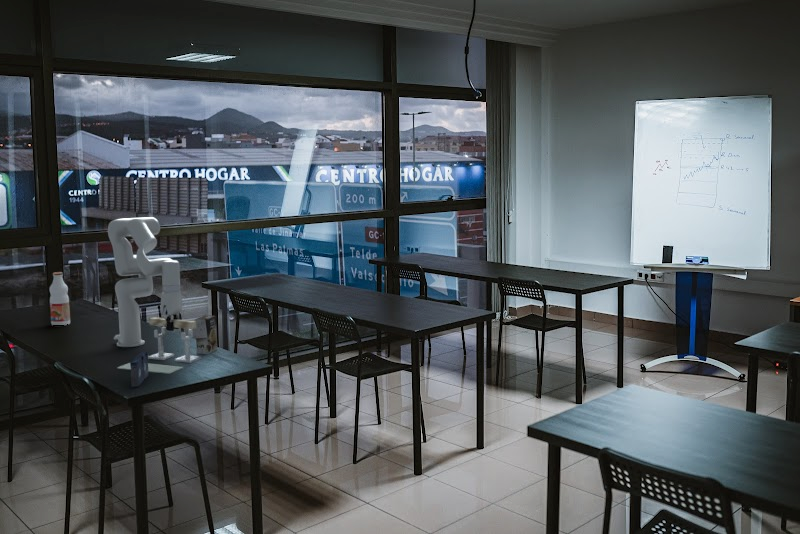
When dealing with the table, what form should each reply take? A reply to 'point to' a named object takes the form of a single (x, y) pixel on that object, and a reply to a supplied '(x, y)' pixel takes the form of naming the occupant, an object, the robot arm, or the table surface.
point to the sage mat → (155, 368)
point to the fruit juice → (59, 301)
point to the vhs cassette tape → (139, 369)
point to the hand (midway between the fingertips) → (172, 329)
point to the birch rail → (177, 323)
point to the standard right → (187, 349)
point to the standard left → (160, 346)
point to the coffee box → (206, 334)
